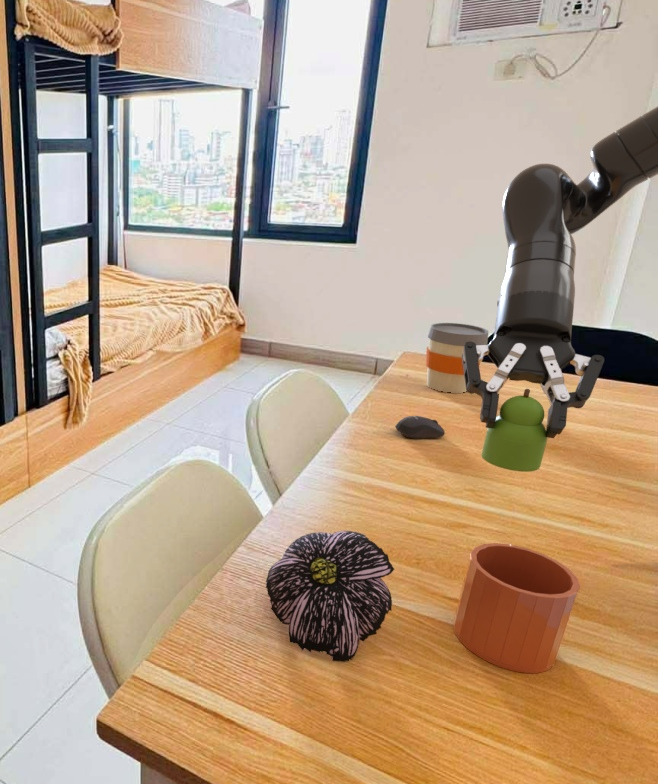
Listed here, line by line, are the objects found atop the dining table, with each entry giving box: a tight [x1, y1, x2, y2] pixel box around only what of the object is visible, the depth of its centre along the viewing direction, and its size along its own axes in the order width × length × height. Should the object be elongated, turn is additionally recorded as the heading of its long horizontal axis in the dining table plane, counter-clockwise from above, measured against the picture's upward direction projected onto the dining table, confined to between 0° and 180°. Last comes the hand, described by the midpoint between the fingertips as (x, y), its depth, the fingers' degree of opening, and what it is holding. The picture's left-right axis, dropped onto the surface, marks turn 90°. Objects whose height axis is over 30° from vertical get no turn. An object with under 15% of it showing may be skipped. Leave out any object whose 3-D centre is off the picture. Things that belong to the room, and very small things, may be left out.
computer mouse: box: [394, 415, 446, 440], centre depth 128 cm, size 6×9×4 cm, turn 94°
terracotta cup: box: [452, 542, 581, 674], centre depth 71 cm, size 10×10×10 cm
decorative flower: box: [265, 530, 395, 663], centre depth 75 cm, size 14×12×15 cm
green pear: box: [481, 388, 548, 473], centre depth 73 cm, size 6×6×9 cm
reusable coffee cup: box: [425, 322, 489, 394], centre depth 154 cm, size 13×13×15 cm
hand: (520, 429), depth 71 cm, fingers closed on green pear, 5 cm apart
